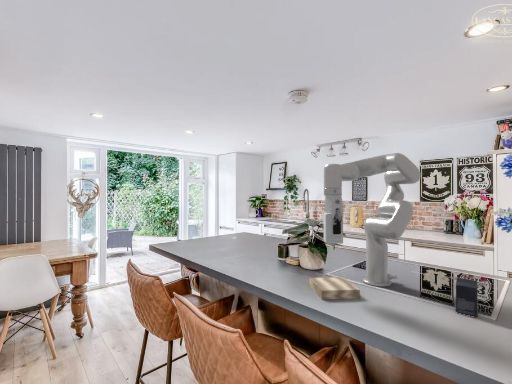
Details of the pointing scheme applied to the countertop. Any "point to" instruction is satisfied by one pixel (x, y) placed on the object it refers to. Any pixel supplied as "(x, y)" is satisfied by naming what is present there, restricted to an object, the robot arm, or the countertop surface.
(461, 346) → the countertop surface
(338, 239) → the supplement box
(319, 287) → the block
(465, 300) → the small box
